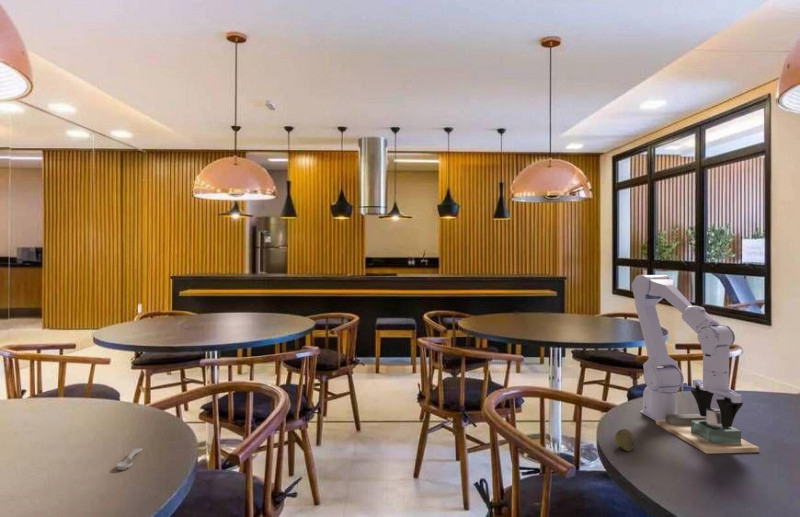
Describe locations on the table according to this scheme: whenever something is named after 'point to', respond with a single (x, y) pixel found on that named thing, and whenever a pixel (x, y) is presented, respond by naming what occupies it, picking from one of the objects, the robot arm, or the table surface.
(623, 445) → the lime
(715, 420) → the bushing
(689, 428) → the jig
